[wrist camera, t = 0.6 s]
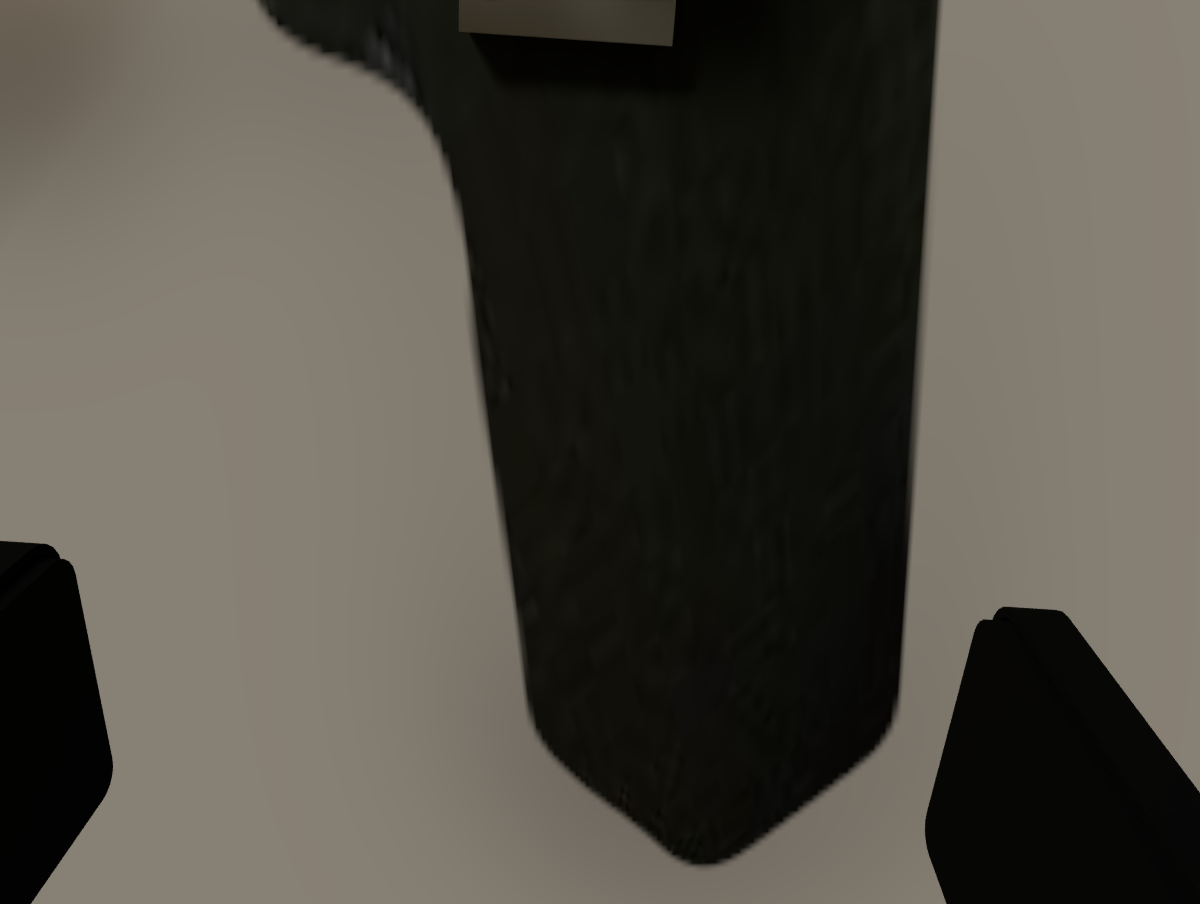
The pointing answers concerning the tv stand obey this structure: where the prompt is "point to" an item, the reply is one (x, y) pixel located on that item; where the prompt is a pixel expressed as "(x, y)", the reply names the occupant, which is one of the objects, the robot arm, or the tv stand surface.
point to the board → (573, 19)
